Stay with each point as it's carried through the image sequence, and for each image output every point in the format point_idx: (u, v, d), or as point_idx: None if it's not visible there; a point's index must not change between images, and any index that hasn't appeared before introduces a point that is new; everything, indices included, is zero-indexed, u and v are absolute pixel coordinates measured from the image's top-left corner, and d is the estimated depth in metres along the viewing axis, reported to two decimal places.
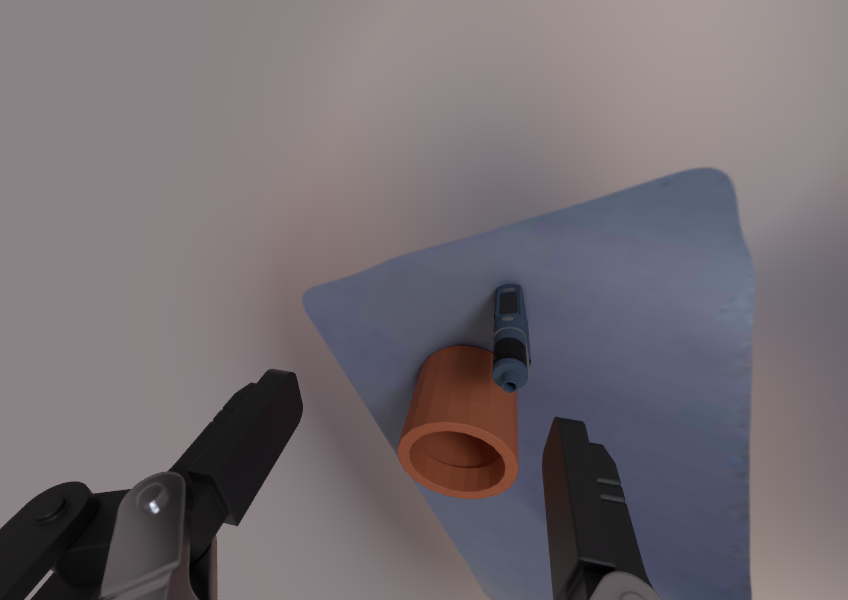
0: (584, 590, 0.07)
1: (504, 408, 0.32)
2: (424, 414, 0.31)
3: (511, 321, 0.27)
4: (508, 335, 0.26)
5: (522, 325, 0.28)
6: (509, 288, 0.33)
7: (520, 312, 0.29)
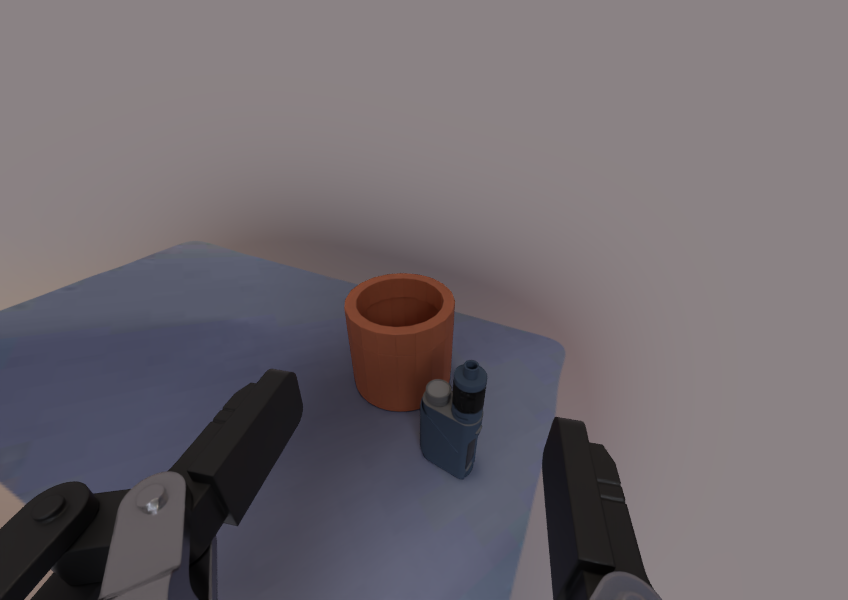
0: (584, 590, 0.07)
1: (394, 365, 0.33)
2: (453, 317, 0.35)
3: (477, 428, 0.27)
4: (480, 411, 0.27)
5: (466, 433, 0.27)
6: (468, 468, 0.31)
7: (466, 446, 0.28)
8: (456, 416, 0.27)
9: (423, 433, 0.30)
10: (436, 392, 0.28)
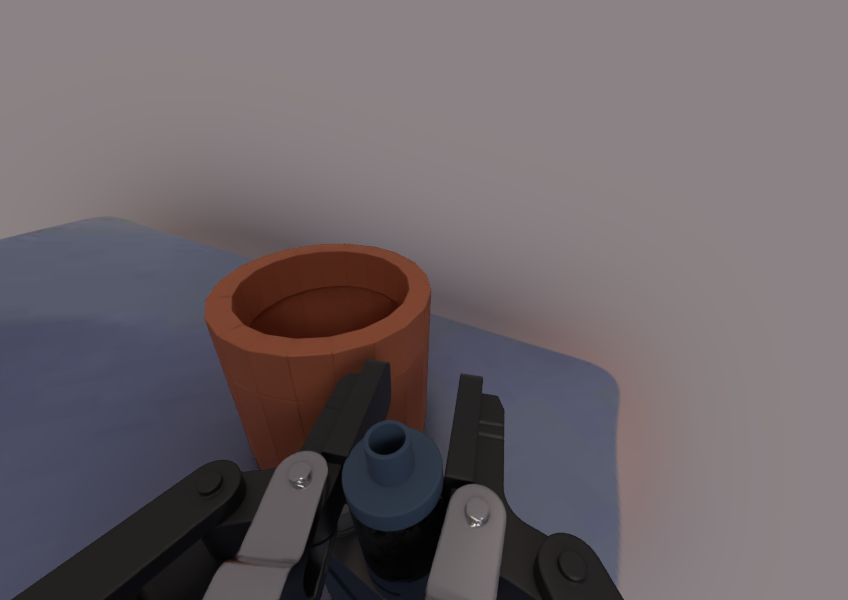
0: None
1: (296, 420, 0.16)
2: (426, 322, 0.18)
3: None
4: None
5: None
6: None
7: None
8: (372, 579, 0.09)
9: (327, 587, 0.13)
10: None
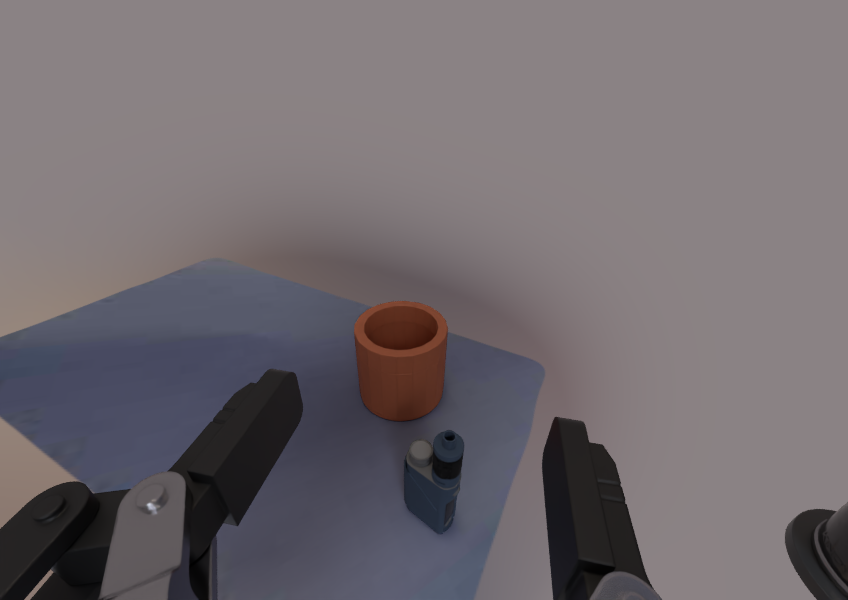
0: (584, 590, 0.07)
1: (395, 382, 0.39)
2: (445, 341, 0.41)
3: (455, 491, 0.29)
4: (458, 476, 0.28)
5: (444, 495, 0.29)
6: (448, 523, 0.33)
7: (444, 506, 0.30)
8: (435, 479, 0.29)
9: (406, 488, 0.32)
10: (418, 453, 0.30)
